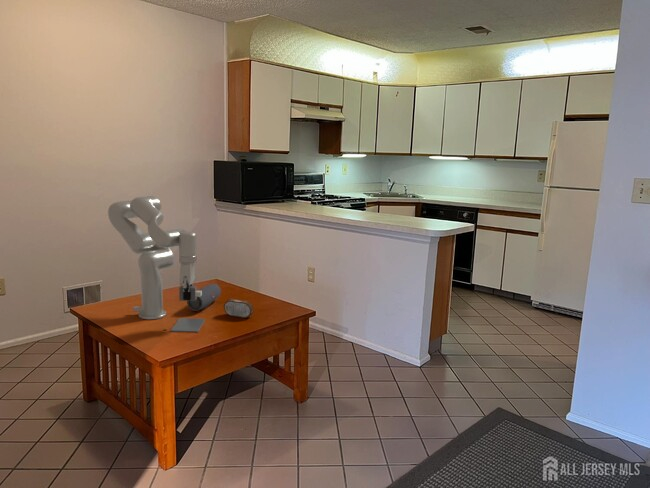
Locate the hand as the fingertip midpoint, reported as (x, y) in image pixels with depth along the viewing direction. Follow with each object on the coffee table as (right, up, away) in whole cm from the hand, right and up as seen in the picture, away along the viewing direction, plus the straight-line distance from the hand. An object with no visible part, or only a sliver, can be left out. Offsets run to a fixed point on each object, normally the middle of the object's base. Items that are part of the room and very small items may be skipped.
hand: (188, 298), depth 219 cm
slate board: (-1, -13, +2) cm, 13 cm away
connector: (+1, -1, 0) cm, 1 cm away
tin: (+20, -11, +18) cm, 29 cm away
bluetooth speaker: (0, -8, +30) cm, 32 cm away
